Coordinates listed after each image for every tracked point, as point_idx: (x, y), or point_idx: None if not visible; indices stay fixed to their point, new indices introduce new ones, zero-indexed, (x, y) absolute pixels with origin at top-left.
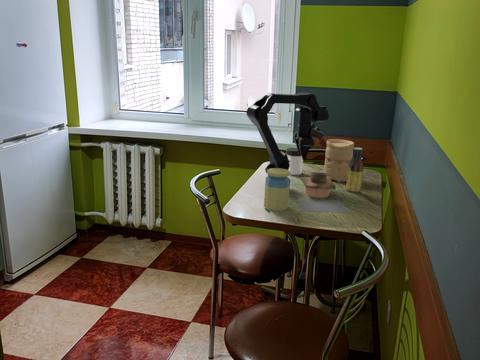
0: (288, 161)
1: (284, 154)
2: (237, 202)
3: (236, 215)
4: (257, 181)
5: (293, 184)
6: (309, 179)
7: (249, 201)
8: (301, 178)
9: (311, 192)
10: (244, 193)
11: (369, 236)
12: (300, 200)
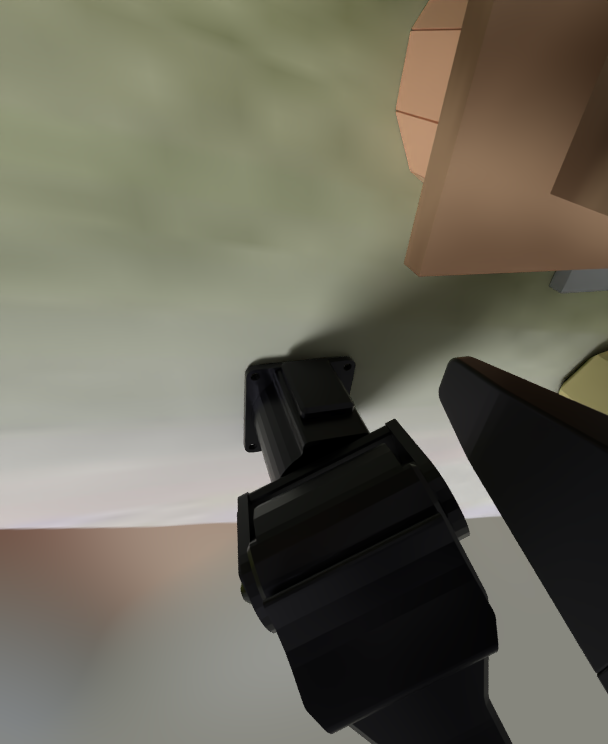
0: (445, 528)
1: (478, 649)
2: (473, 505)
3: None
4: (136, 500)
5: (151, 258)
6: (517, 196)
7: (475, 476)
8: (415, 270)
9: None
10: None
11: None
12: (593, 269)
